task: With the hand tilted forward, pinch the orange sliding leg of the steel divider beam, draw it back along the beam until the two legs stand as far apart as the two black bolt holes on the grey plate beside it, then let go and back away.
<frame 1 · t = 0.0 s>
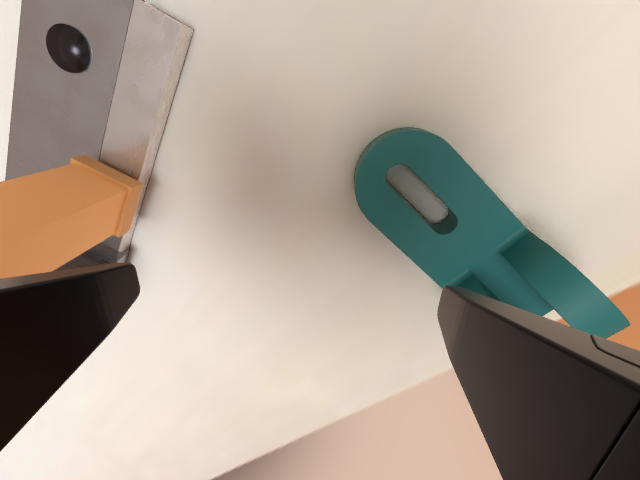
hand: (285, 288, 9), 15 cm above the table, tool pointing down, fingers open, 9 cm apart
divider beam: (130, 172, 24), on the table
bracket: (452, 227, 24), on the table
bolt plate: (66, 140, 23), on the table
sliding leg: (49, 219, 18), point 7 cm above the table, slide at 0.0 cm
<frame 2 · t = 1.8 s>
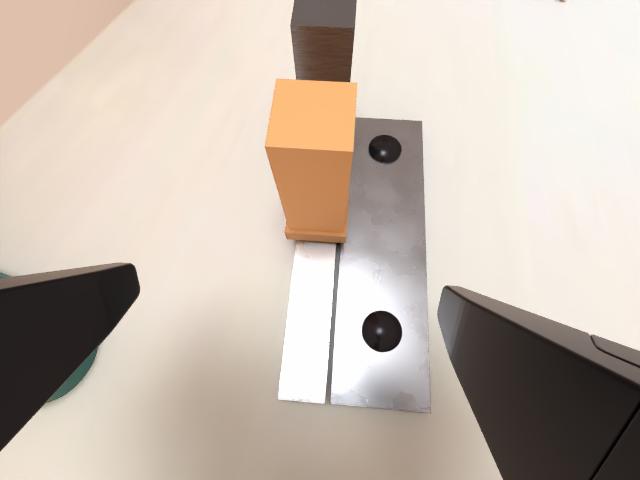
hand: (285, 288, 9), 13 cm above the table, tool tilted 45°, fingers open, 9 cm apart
divider beam: (317, 240, 24), on the table
bolt plate: (380, 245, 24), on the table
sliding leg: (316, 178, 18), point 7 cm above the table, slide at 0.0 cm
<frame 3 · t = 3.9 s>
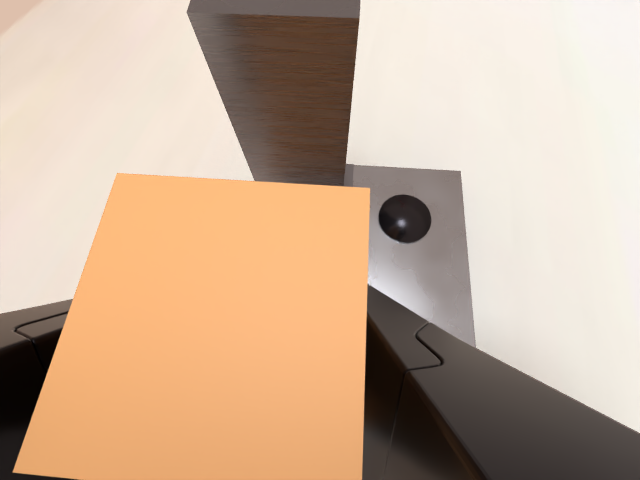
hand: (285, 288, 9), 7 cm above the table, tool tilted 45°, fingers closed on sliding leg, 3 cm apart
divider beam: (296, 375, 15), on the table
bolt plate: (401, 385, 14), on the table
sliding leg: (278, 338, 9), point 7 cm above the table, slide at 0.0 cm, touching gripper
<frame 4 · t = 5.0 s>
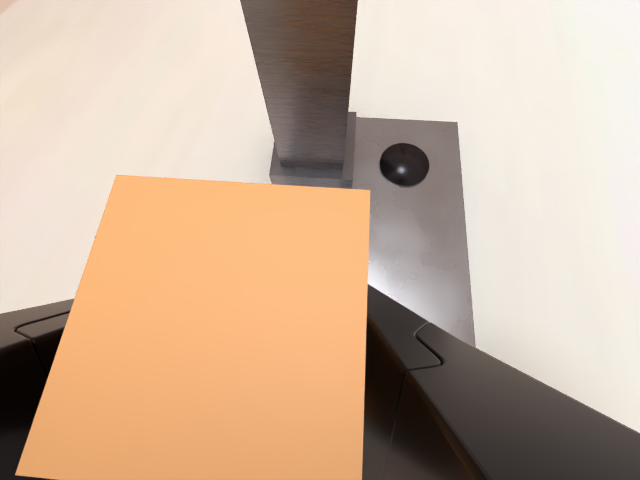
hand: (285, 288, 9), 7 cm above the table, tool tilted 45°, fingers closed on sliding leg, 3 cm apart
divider beam: (302, 306, 16), on the table
bolt plate: (400, 314, 15), on the table
sliding leg: (278, 337, 9), point 7 cm above the table, slide at 3.0 cm, touching gripper
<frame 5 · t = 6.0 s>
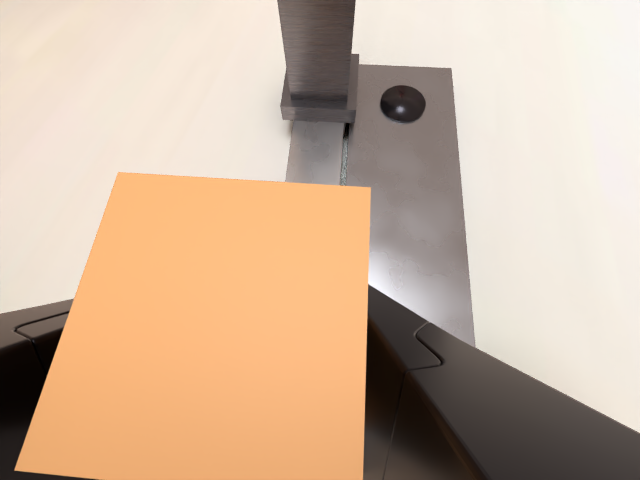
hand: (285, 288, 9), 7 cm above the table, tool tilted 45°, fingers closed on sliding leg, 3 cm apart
divider beam: (310, 227, 17), on the table
bolt plate: (399, 233, 17), on the table
sliding leg: (278, 337, 9), point 7 cm above the table, slide at 7.3 cm, touching gripper
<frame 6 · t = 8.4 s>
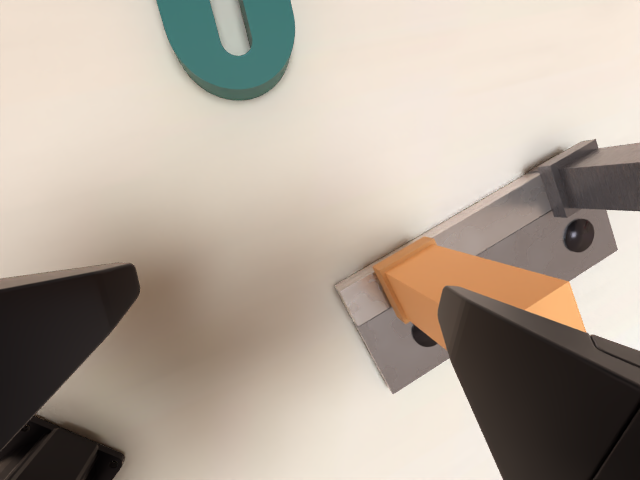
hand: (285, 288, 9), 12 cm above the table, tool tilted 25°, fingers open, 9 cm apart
divider beam: (467, 228, 24), on the table
bolt plate: (488, 282, 25), on the table
sliding leg: (456, 300, 16), point 7 cm above the table, slide at 7.4 cm
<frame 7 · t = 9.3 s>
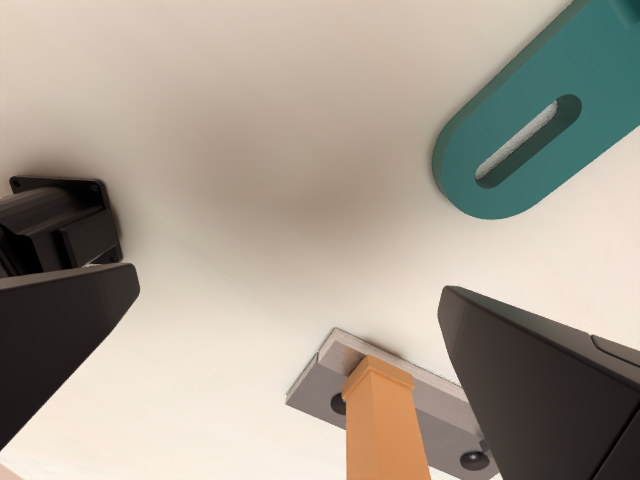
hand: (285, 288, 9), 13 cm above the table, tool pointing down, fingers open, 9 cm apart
divider beam: (434, 389, 28), on the table
bracket: (569, 82, 18), on the table
bolt plate: (403, 419, 30), on the table
sliding leg: (383, 440, 21), point 7 cm above the table, slide at 7.4 cm
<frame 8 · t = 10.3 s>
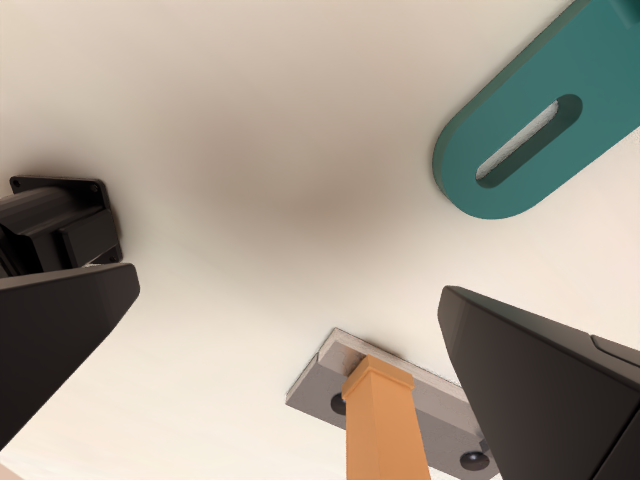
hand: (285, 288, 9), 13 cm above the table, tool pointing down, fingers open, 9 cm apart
divider beam: (434, 389, 28), on the table
bracket: (570, 81, 18), on the table
bolt plate: (403, 420, 30), on the table
sliding leg: (382, 440, 21), point 7 cm above the table, slide at 7.4 cm
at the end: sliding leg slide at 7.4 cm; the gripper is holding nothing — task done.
